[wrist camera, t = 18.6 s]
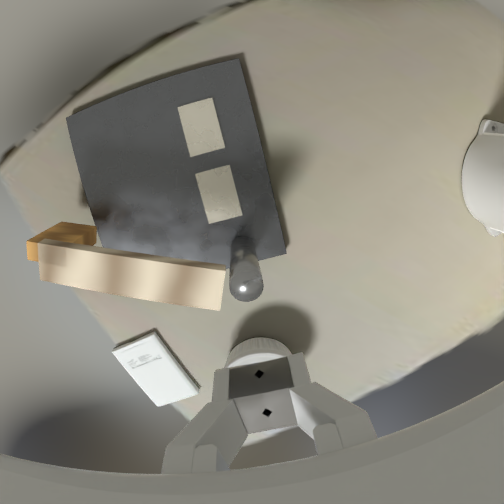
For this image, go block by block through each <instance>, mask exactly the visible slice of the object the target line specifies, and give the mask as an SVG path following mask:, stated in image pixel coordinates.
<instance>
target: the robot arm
mask: <svg viewBox="0 0 504 504" xmlns="http://www.w3.org/2000/svg"><path fill="white" fill-rule="evenodd" d="M462 190H463V196H464V200H465V203H466V205H467V208H468V209H469V211H470V213H471V214H472V215H473V217H474V218H475V219H477V220H478V221H480V222H481V223H482V224H484V226H485V228H486V230H487V232H488V233H489V235H491V236H494V237H496V236H498V235H499V234H501V233H502V232H503V233H504V124H503V123H500V122H496V121H492V120H488V119H484V120H482V122H481V124H480V128H479V132H478V135H477V137H476V139H475V140H474V141H473V143H472V144H471V145H470V147H469V149H468V151H467V153H466V156H465V159H464V163H463V169H462ZM294 425H298V426H299V427H300V428H301V429H302V430H304V431H305V432H306V433H307V434H308V435H309V436H310V437H311V438H313V439H314V441H315V447H316V452H317V456H313V457H308V458H304V459H300V460H294V461H289V462H284V463H279V464H273V465H267V466H260V467H253V468H246V469H238V470H230V469H229V465H230V464H231V462H232V461H233V459H234V458H235V456H236V454H237V453H238V451H239V450H240V448H241V446H242V445H243V443H244V441H245V440H246V438H247V436H248V434H251V433H256V432H262V431H267V430H271V429H277V428H283V427H289V426H294ZM0 504H504V381H503V382H501V383H500V384H498V385H496V386H495V387H493V388H491V389H489V390H488V391H486V392H484V393H482V394H480V395H478V396H476V397H475V398H472V399H471V400H469V401H467V402H465V403H463V404H461V405H459V406H457V407H454V408H452V409H450V410H448V411H446V412H444V413H442V414H439V415H437V416H435V417H433V418H430V419H428V420H425V421H423V422H421V423H418V424H416V425H413V426H410V427H408V428H405V429H403V430H400V431H397V432H395V433H392V434H389V435H386V436H383V437H380V438H377V435H376V433H375V431H374V428H373V426H372V423H371V421H370V418H369V416H368V414H367V412H366V411H365V410H363V409H361V408H360V407H358V406H356V405H354V404H352V403H351V402H349V401H347V400H345V399H344V398H342V397H340V396H339V395H337V394H335V393H333V392H332V391H330V390H328V389H327V388H325V387H323V386H322V385H320V384H318V383H317V382H314V383H311V380H310V376H309V372H308V369H307V365H306V362H305V358H304V355H303V353H302V352H300V353H296V354H292V355H288V357H287V356H286V357H281V358H277V359H272V360H268V361H263V362H258V363H252V364H246V365H241V366H235V367H230V368H223V369H217V370H216V371H215V372H214V382H213V393H212V402H210V403H207V404H206V405H205V406H204V407H203V408H202V410H201V411H200V412H199V413H198V414H197V415H196V416H195V417H194V418H193V419H192V420H191V421H190V422H189V423H188V425H187V426H186V427H185V428H184V429H183V430H182V431H181V432H180V433H179V434H178V435H177V436H176V437H175V438H174V439H173V440H172V441H171V442H170V443H169V444H168V445H167V447H166V450H165V456H164V461H163V467H162V471H161V474H130V473H128V474H127V473H111V472H100V471H90V470H81V469H73V468H66V467H60V466H53V465H48V464H42V463H37V462H33V461H28V460H23V459H19V458H15V457H11V456H7V455H3V454H0Z"/></svg>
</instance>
